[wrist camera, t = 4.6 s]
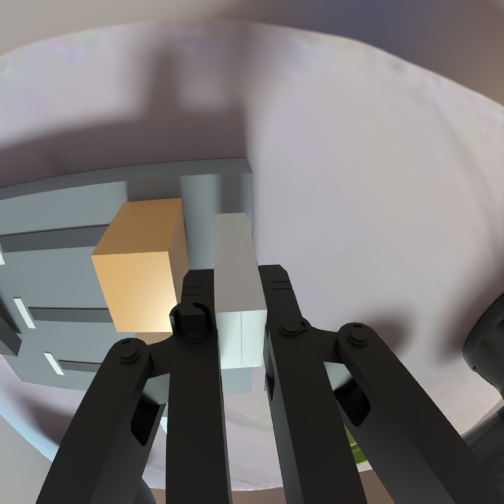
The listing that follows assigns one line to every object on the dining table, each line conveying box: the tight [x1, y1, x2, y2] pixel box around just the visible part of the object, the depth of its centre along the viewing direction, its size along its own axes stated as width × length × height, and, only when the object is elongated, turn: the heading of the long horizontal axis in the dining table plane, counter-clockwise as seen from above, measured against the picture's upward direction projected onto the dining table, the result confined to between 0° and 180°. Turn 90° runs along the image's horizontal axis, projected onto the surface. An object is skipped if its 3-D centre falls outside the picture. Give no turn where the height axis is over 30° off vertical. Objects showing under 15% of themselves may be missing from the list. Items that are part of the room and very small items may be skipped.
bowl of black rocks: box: [133, 478, 156, 504], centre depth 33 cm, size 20×20×19 cm
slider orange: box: [91, 198, 189, 332], centre depth 13 cm, size 3×4×5 cm
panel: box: [0, 158, 252, 394], centre depth 20 cm, size 24×19×4 cm
